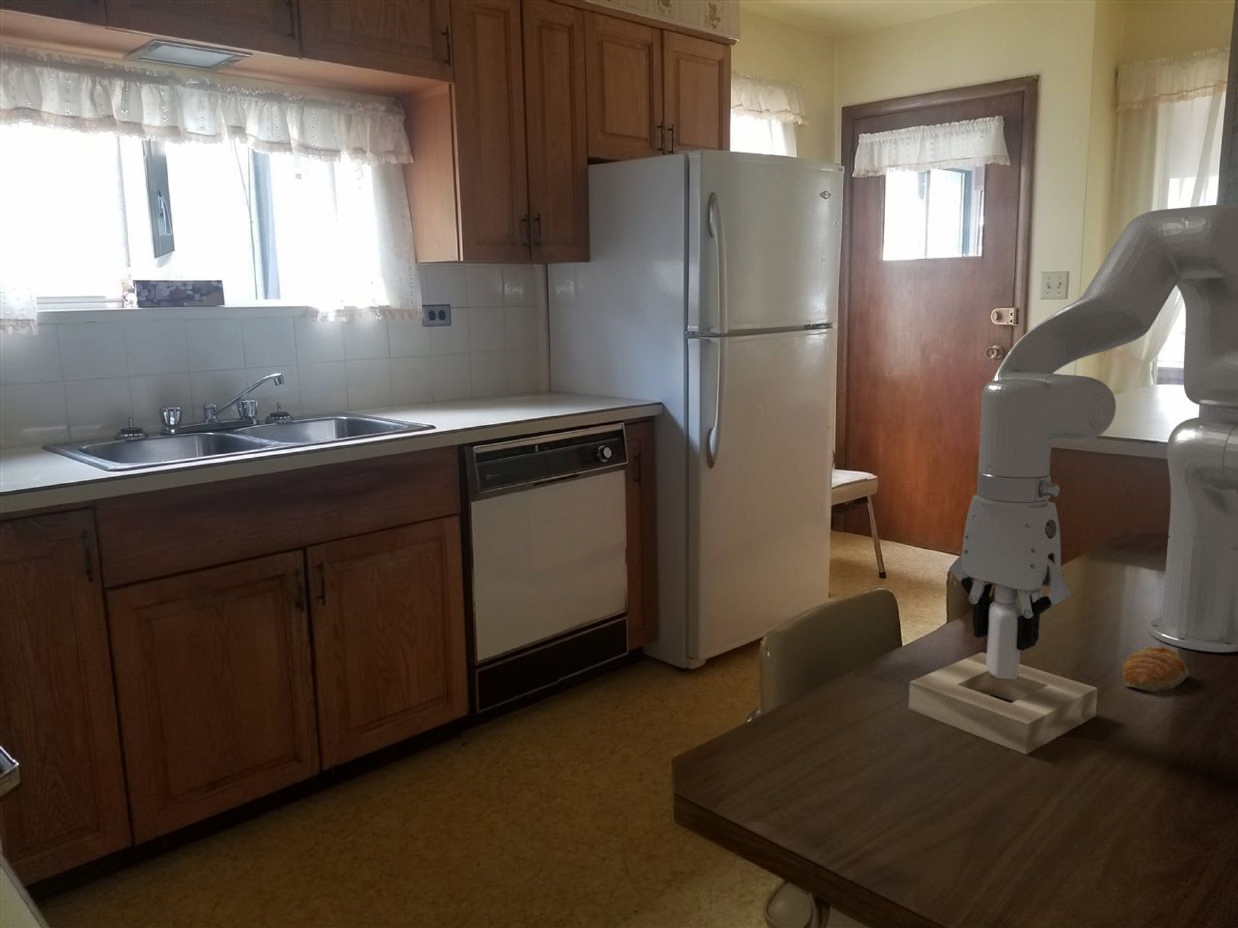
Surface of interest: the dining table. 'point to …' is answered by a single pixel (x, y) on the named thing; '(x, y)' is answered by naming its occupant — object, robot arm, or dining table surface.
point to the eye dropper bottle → (1003, 634)
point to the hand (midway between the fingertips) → (1004, 639)
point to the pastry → (1154, 669)
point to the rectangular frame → (1003, 703)
